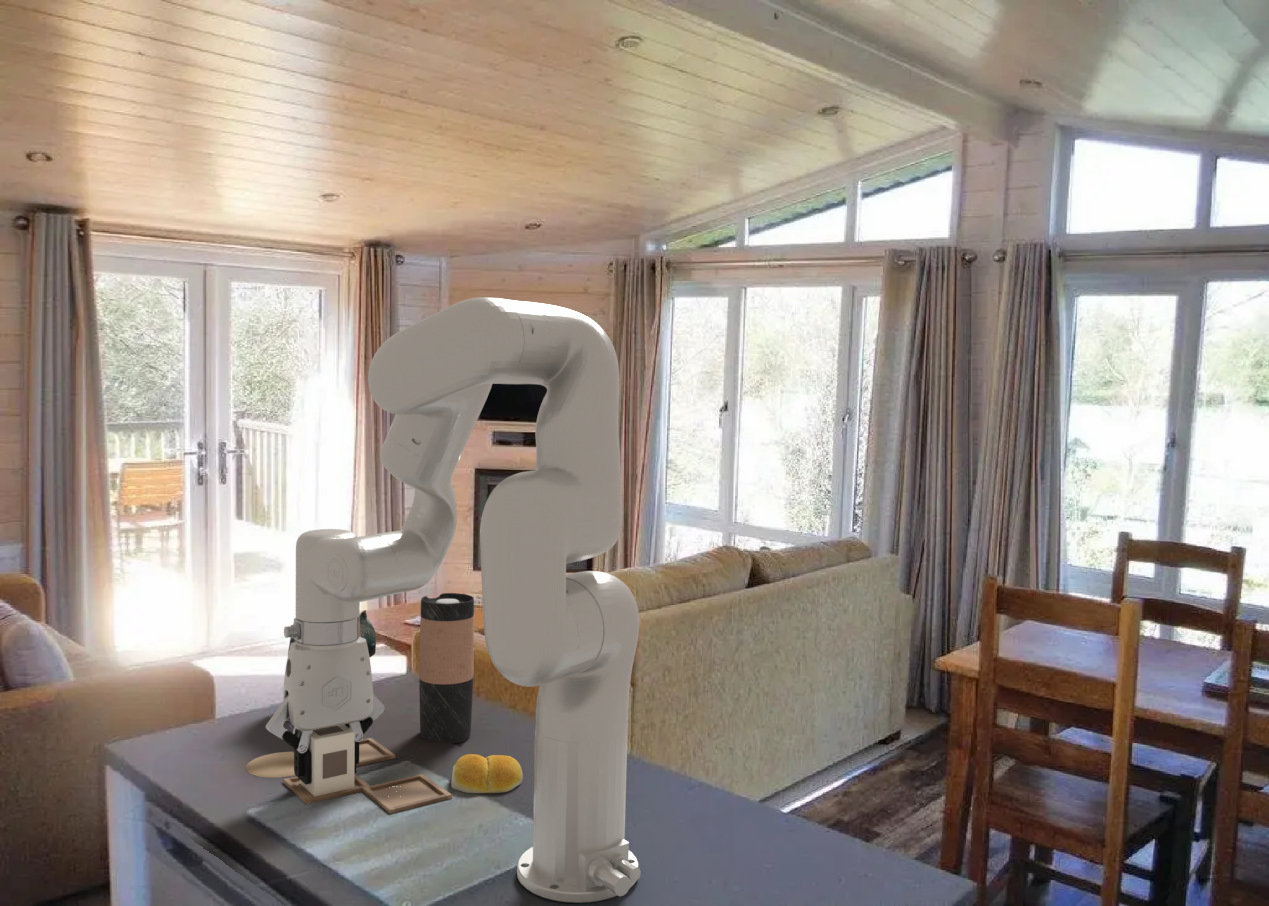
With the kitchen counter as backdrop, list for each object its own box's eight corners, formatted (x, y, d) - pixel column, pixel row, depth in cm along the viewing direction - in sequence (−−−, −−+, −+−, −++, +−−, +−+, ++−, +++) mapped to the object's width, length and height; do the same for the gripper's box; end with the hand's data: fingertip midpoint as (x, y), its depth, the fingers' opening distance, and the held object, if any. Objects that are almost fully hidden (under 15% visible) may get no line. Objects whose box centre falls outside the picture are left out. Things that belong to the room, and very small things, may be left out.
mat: (329, 770, 133) (329, 767, 133) (258, 785, 127) (258, 782, 127) (304, 750, 140) (304, 747, 140) (236, 763, 134) (236, 760, 134)
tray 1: (370, 792, 126) (370, 785, 126) (306, 807, 121) (306, 800, 121) (344, 771, 133) (345, 765, 133) (283, 785, 128) (283, 779, 128)
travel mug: (467, 746, 143) (469, 604, 142) (412, 744, 143) (414, 603, 142) (476, 728, 151) (479, 593, 149) (425, 726, 151) (426, 592, 150)
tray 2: (395, 760, 137) (395, 755, 137) (337, 773, 132) (337, 767, 132) (370, 743, 143) (371, 737, 143) (314, 754, 138) (314, 748, 138)
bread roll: (524, 797, 127) (524, 765, 127) (450, 800, 125) (451, 768, 125) (520, 771, 135) (521, 742, 135) (451, 774, 133) (451, 744, 133)
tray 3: (451, 801, 124) (452, 794, 124) (390, 816, 119) (390, 810, 119) (422, 780, 131) (422, 773, 131) (362, 794, 126) (362, 787, 126)
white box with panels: (354, 787, 126) (354, 731, 126) (314, 797, 123) (315, 739, 123) (338, 774, 130) (339, 720, 130) (299, 783, 127) (300, 727, 127)
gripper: (267, 646, 117) (267, 801, 119) (405, 628, 128) (404, 770, 129) (247, 633, 123) (247, 781, 125) (380, 616, 134) (379, 753, 135)
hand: (327, 774), depth 127 cm, fingers closed on white box with panels, 5 cm apart
